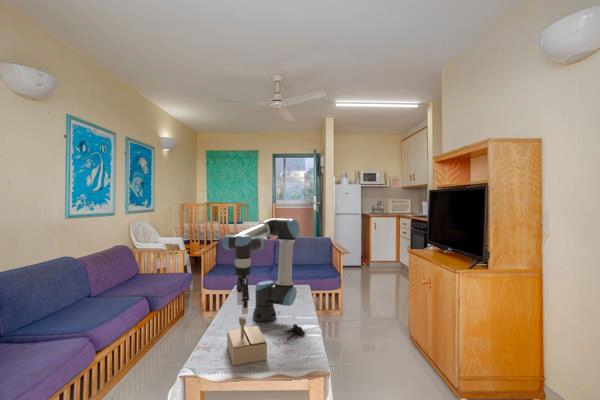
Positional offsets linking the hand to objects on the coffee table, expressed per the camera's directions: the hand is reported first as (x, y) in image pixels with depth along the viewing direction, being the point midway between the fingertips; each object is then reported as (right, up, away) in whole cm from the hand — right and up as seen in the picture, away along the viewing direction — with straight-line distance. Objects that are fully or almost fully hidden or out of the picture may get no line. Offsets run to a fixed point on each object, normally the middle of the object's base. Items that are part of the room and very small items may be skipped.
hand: (242, 309), depth 153 cm
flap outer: (-2, -14, 0) cm, 14 cm away
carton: (+2, -22, +1) cm, 23 cm away
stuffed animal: (+26, -23, +23) cm, 42 cm away
